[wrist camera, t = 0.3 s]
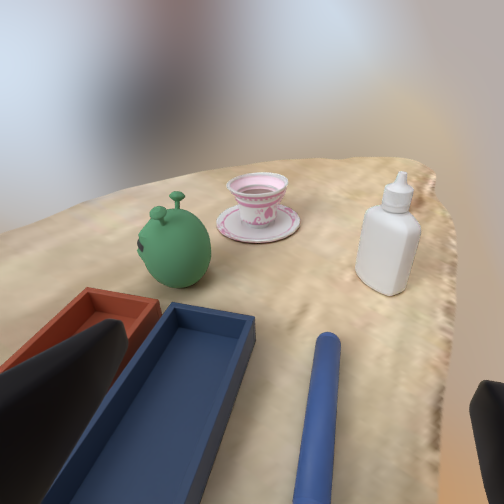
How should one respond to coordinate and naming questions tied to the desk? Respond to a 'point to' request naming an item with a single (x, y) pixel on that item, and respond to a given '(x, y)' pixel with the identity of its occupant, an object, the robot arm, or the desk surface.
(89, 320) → the far bin
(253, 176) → the teacup
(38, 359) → the robot arm
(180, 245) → the alien toy
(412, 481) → the desk surface
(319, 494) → the blue spoon
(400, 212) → the eye dropper bottle
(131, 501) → the near bin
